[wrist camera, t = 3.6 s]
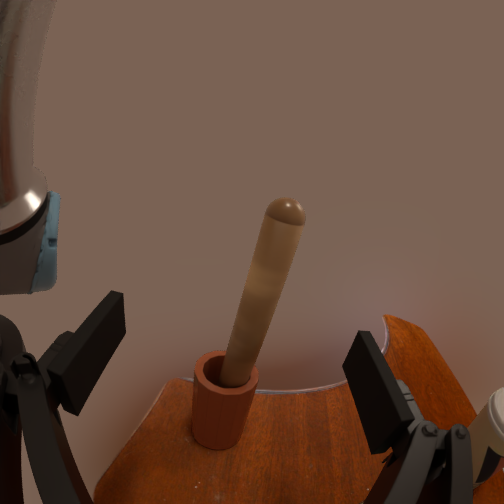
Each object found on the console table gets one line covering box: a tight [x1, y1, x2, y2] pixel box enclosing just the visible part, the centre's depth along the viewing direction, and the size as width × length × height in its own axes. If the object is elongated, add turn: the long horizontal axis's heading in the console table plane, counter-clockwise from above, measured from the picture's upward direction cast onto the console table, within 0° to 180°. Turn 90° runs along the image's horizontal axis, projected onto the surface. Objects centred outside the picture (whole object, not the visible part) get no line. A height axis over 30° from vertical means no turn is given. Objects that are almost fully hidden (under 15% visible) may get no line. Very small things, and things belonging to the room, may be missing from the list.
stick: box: [217, 197, 305, 388], centre depth 20 cm, size 2×2×24 cm
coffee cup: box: [445, 387, 504, 489], centre depth 16 cm, size 9×9×12 cm
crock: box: [191, 351, 258, 450], centre depth 24 cm, size 5×6×10 cm
